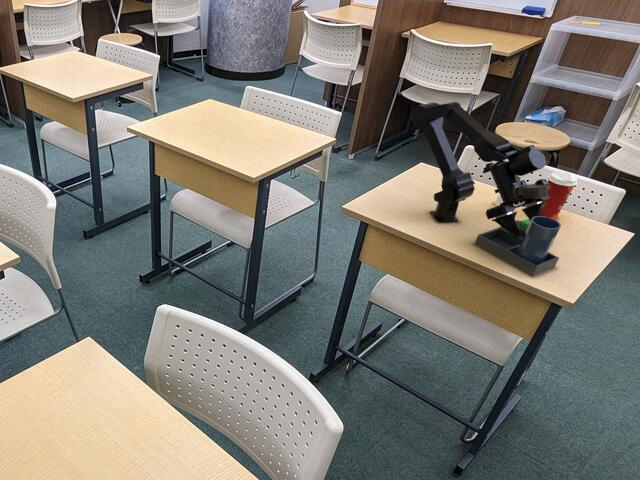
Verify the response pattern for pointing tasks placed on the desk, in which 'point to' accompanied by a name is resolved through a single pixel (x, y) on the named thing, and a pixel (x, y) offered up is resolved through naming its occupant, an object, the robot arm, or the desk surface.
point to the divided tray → (512, 251)
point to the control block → (521, 230)
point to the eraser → (498, 200)
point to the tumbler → (538, 239)
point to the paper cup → (558, 193)
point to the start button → (525, 223)
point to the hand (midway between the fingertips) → (528, 233)
